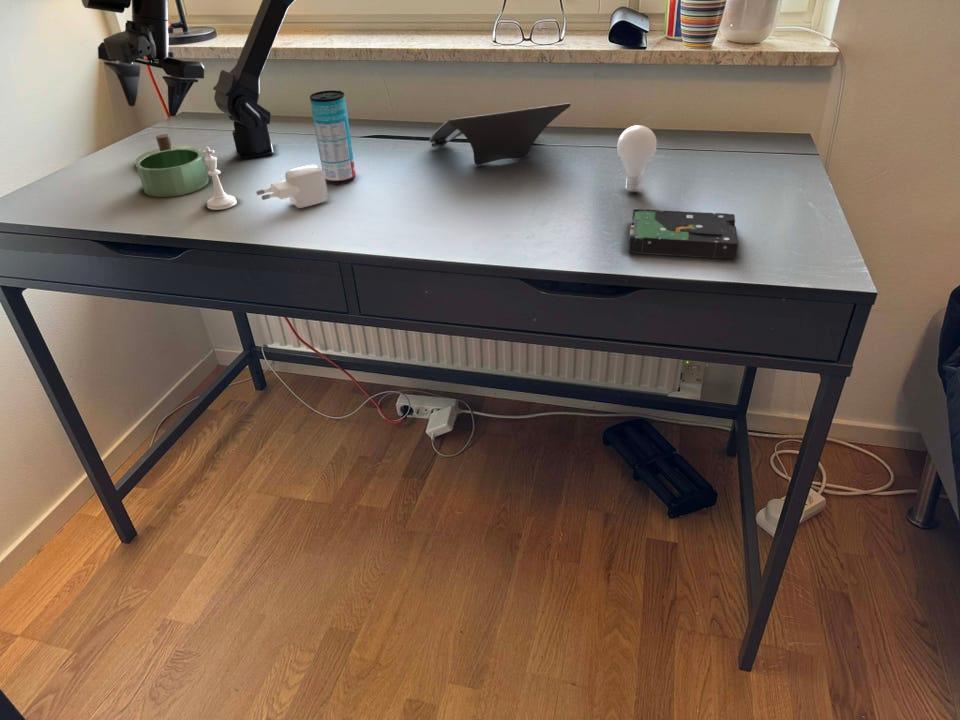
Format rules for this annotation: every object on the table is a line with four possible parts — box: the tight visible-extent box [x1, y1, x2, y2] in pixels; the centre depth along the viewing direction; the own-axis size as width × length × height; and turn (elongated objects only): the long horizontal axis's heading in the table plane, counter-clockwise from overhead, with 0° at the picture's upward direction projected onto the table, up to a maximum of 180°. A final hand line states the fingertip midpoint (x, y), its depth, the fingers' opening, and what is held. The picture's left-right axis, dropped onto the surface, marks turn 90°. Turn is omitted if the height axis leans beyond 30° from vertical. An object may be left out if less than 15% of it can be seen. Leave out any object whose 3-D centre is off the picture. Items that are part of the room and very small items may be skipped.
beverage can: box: [309, 90, 357, 185], centre depth 128 cm, size 6×6×15 cm
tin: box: [135, 149, 210, 198], centre depth 132 cm, size 11×11×5 cm
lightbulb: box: [616, 124, 658, 193], centre depth 118 cm, size 6×6×11 cm
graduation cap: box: [429, 102, 571, 166], centre depth 137 cm, size 23×23×9 cm
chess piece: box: [202, 146, 238, 211], centre depth 122 cm, size 5×5×10 cm
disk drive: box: [627, 208, 739, 259], centre depth 104 cm, size 10×3×15 cm
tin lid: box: [135, 133, 202, 163], centre depth 143 cm, size 12×12×5 cm
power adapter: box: [255, 164, 329, 209], centre depth 121 cm, size 11×5×6 cm, turn 123°
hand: (151, 111), depth 131 cm, fingers open, 9 cm apart
